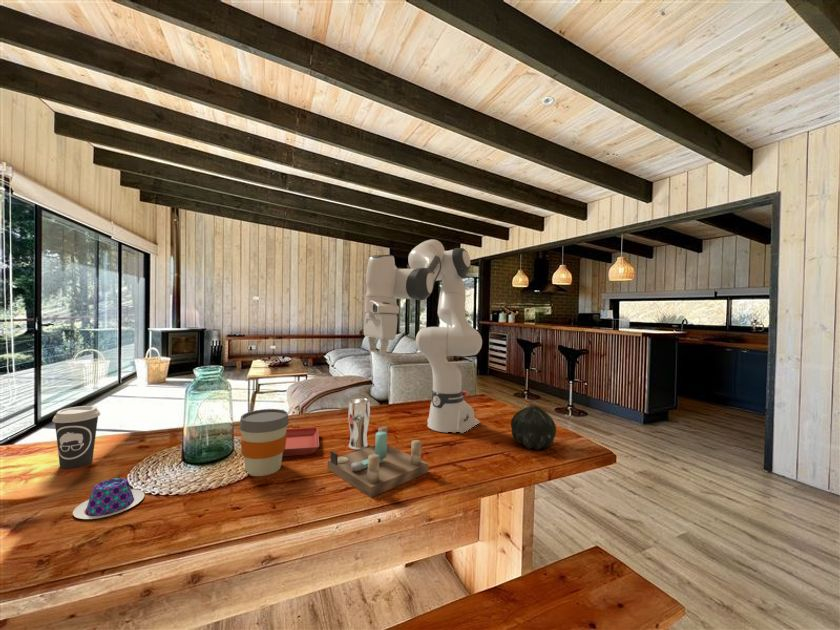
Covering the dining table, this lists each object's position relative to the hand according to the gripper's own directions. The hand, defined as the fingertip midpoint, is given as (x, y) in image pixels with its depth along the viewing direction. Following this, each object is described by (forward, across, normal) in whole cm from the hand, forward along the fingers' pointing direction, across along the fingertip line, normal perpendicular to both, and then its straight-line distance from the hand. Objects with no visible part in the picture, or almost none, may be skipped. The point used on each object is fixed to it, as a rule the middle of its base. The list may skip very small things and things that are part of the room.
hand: (377, 353), depth 107 cm
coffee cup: (+34, -27, -77) cm, 88 cm away
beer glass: (+32, -12, -1) cm, 34 cm away
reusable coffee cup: (+33, -6, -30) cm, 45 cm away
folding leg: (+29, +9, -4) cm, 31 cm away
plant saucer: (+33, -19, -22) cm, 44 cm away
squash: (+31, +9, +55) cm, 64 cm away
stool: (+32, +7, -1) cm, 33 cm away
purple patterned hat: (+34, +1, -61) cm, 70 cm away
